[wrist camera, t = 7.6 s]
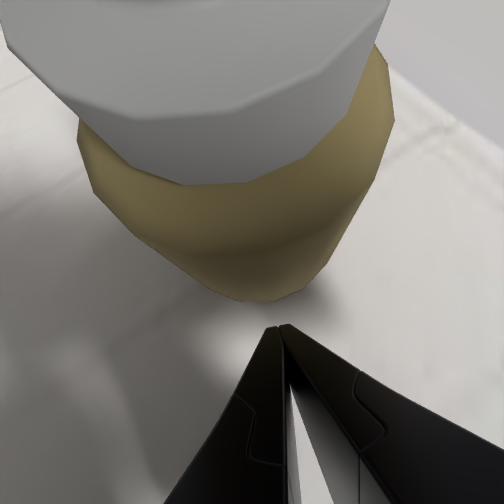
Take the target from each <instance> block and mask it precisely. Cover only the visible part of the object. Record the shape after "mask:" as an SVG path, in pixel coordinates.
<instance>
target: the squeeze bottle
mask: <svg viewBox="0 0 504 504" xmlns="http://www.w3.org/2000/svg"><path fill="white" fill-rule="evenodd" d="M389 3H390V0H0V23H1V26H2V30H3V33H4V37H5V40H6V44H7V47H8V49H9V50H10V51H11V52H12V53H13V54H14V55H15V56H16V57H17V58H18V59H19V60H20V61H21V62H22V63H23V64H24V65H25V66H26V67H28V68H29V69H30V70H31V71H32V72H33V73H34V74H35V75H36V76H37V77H38V78H39V79H40V80H41V81H42V82H43V83H44V84H45V85H46V86H47V87H48V88H49V89H50V90H51V91H52V92H53V93H54V94H55V95H56V96H57V97H58V98H59V99H60V100H61V101H62V102H63V103H65V104H66V105H67V106H68V107H69V108H70V109H71V110H72V111H73V112H74V113H75V114H76V115H77V116H78V117H79V125H78V134H77V143H78V146H79V149H80V152H81V155H82V158H83V162H84V165H85V168H86V171H87V174H88V177H89V180H90V183H91V186H92V189H93V192H94V194H95V195H96V196H97V197H98V198H99V199H100V200H101V201H102V202H103V203H104V204H105V205H106V206H107V207H108V208H109V209H110V210H111V211H112V213H113V214H114V215H115V216H116V217H117V218H118V219H119V220H120V221H121V222H122V223H123V224H124V225H125V226H126V227H127V228H128V229H129V230H130V231H131V232H132V233H133V234H134V235H135V236H136V237H137V238H139V239H140V240H142V241H143V242H144V243H146V244H147V245H149V246H150V247H151V248H153V249H154V250H156V251H157V252H158V253H160V254H161V255H163V256H164V257H165V258H167V259H168V260H169V261H171V262H172V263H174V264H175V265H176V266H178V267H179V268H181V269H182V270H183V271H185V272H186V273H188V274H189V275H190V276H192V277H193V278H195V279H196V280H197V281H199V282H200V283H202V284H203V285H204V286H206V287H207V288H209V289H210V290H212V291H215V292H217V293H220V294H222V295H225V296H227V297H230V298H232V299H234V300H237V301H239V302H259V301H275V300H278V299H280V298H282V297H284V296H287V295H289V294H291V293H293V292H296V291H298V290H300V289H303V288H304V287H305V286H306V285H307V284H308V283H309V282H310V281H311V280H312V279H313V278H314V277H315V276H316V275H317V274H318V273H319V271H320V270H321V269H322V268H323V267H324V266H325V265H326V264H327V263H328V261H329V259H330V257H331V255H332V254H333V252H334V250H335V248H336V247H337V245H338V243H339V241H340V240H341V238H342V236H343V234H344V232H345V231H346V229H347V227H348V225H349V224H350V222H351V220H352V218H353V217H354V215H355V213H356V211H357V209H358V208H359V206H360V204H361V202H362V201H363V199H364V197H365V195H366V194H367V192H368V190H369V188H370V186H371V185H372V183H373V181H374V179H375V176H376V173H377V171H378V168H379V165H380V162H381V159H382V156H383V153H384V150H385V147H386V145H387V142H388V139H389V136H390V133H391V130H392V127H393V124H394V121H395V119H394V111H393V103H392V95H391V87H390V79H389V71H388V63H387V62H386V60H385V59H384V57H383V56H382V54H381V53H380V51H379V50H378V48H377V47H376V45H375V44H374V42H375V39H376V37H377V34H378V31H379V29H380V26H381V24H382V21H383V19H384V16H385V14H386V11H387V8H388V6H389Z"/></svg>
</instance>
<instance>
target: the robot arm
mask: <svg viewBox="0 0 504 504" xmlns="http://www.w3.org/2000/svg"><path fill="white" fill-rule="evenodd" d="M290 387H291V389H290ZM291 390H292V393H293V396H294V399H295V401H296V404H297V407H298V409H299V412H300V415H301V417H302V420H303V423H304V425H305V428H306V431H307V433H308V436H309V439H310V441H311V444H312V447H313V449H314V452H315V455H316V457H317V460H318V463H319V465H320V468H321V471H322V473H323V476H324V479H325V481H326V484H327V486H328V489H329V492H330V494H331V497H332V500H333V502H334V504H504V449H502V448H500V447H498V446H496V445H494V444H492V443H490V442H489V441H487V440H485V439H483V438H481V437H479V436H477V435H475V434H474V433H472V432H470V431H468V430H466V429H464V428H462V427H460V426H458V425H457V424H455V423H453V422H451V421H449V420H447V419H445V418H443V417H442V416H440V415H438V414H436V413H434V412H432V411H430V410H428V409H427V408H425V407H423V406H421V405H419V404H417V403H415V402H413V401H411V400H410V399H408V398H406V397H404V396H403V395H401V394H399V393H397V392H395V391H394V390H392V389H390V388H388V387H387V386H385V385H383V384H382V383H380V382H379V381H377V380H375V379H374V378H372V377H371V376H369V375H368V374H366V373H365V372H363V371H360V370H359V369H358V368H356V367H355V366H353V365H352V364H350V363H349V362H347V361H346V360H344V359H342V358H341V357H339V356H338V355H336V354H335V353H333V352H332V351H330V350H329V349H327V348H326V347H324V346H323V345H321V344H320V343H318V342H317V341H315V340H314V339H312V338H311V337H309V336H308V335H306V334H304V333H303V332H301V331H300V330H298V329H297V328H295V327H294V326H292V325H291V324H285V325H280V326H279V327H277V326H274V327H269V328H266V330H265V331H264V333H263V335H262V337H261V339H260V341H259V343H258V345H257V347H256V349H255V351H254V353H253V355H252V357H251V359H250V361H249V363H248V365H247V367H246V369H245V371H244V373H243V375H242V377H241V379H240V381H239V383H238V385H237V387H236V389H235V391H234V393H233V395H232V396H231V398H230V400H229V402H228V404H227V406H226V408H225V409H224V411H223V413H222V415H221V417H220V419H219V420H218V422H217V424H216V425H215V427H214V428H213V430H212V431H211V433H210V435H209V436H208V438H207V439H206V441H205V442H204V444H203V445H202V447H201V448H200V450H199V451H198V453H197V454H196V456H195V457H194V459H193V460H192V462H191V463H190V465H189V466H188V468H187V469H186V471H185V472H184V474H183V475H182V477H181V478H180V480H179V481H178V483H177V484H176V486H175V487H174V489H173V490H172V492H171V493H170V495H169V496H168V498H167V499H166V501H165V502H164V504H301V493H300V483H299V472H298V461H297V451H296V440H295V429H294V418H293V408H292V397H291Z"/></svg>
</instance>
